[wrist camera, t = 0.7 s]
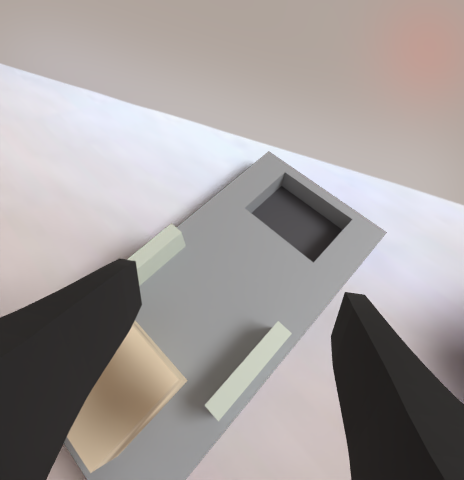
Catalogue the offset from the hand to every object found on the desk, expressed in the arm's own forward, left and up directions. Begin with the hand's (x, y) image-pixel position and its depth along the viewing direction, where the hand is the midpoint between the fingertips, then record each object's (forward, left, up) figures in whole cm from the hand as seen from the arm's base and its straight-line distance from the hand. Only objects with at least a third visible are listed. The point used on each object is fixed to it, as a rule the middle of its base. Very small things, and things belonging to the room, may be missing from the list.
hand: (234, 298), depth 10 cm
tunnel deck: (+2, +4, -15) cm, 16 cm away
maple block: (-7, +4, -13) cm, 15 cm away
